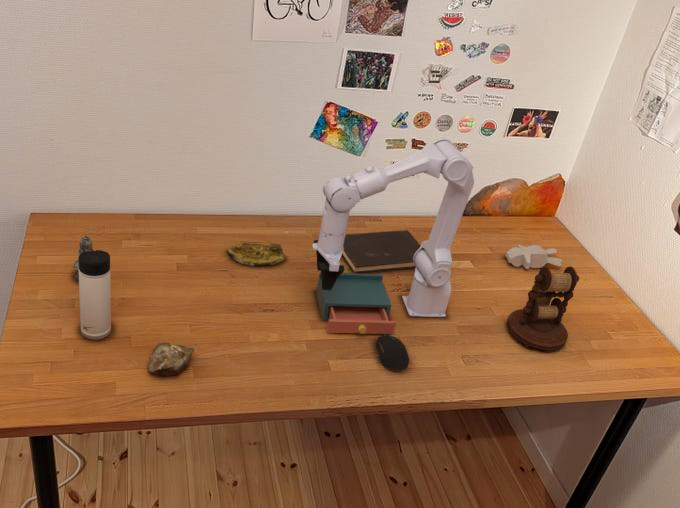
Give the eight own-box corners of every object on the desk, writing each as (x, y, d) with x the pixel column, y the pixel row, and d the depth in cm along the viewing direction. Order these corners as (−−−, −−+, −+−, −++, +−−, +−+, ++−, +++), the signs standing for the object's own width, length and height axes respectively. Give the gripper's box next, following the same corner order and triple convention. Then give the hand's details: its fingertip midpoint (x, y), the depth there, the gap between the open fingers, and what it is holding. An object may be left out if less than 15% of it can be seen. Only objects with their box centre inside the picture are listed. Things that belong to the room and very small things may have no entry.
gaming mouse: (395, 331, 177) (398, 317, 175) (411, 373, 165) (414, 359, 163) (369, 330, 176) (372, 317, 174) (383, 373, 164) (387, 359, 162)
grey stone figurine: (68, 279, 175) (66, 236, 168) (84, 267, 180) (82, 225, 173) (89, 287, 174) (88, 244, 167) (104, 275, 178) (104, 233, 172)
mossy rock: (226, 267, 190) (284, 270, 193) (227, 253, 187) (286, 257, 190) (226, 244, 197) (282, 248, 200) (227, 230, 194) (284, 234, 197)
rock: (160, 380, 148) (202, 370, 155) (156, 347, 148) (199, 338, 155) (141, 376, 154) (183, 366, 161) (138, 344, 153) (180, 336, 160)
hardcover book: (430, 266, 203) (432, 259, 202) (353, 273, 195) (355, 266, 194) (405, 235, 215) (406, 228, 214) (331, 241, 207) (333, 233, 206)
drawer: (382, 306, 184) (385, 295, 182) (394, 337, 174) (397, 326, 172) (320, 304, 180) (322, 293, 178) (327, 336, 171) (330, 324, 169)
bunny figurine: (504, 240, 213) (555, 240, 214) (501, 255, 216) (551, 255, 217) (513, 259, 205) (566, 258, 206) (510, 274, 208) (562, 273, 209)
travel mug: (85, 343, 157) (82, 265, 146) (77, 325, 162) (74, 248, 151) (114, 338, 160) (114, 261, 149) (106, 319, 165) (106, 244, 154)
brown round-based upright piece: (547, 316, 192) (573, 251, 181) (575, 354, 180) (604, 287, 169) (495, 317, 188) (519, 250, 177) (520, 355, 176) (547, 287, 165)
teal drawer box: (377, 294, 189) (382, 274, 185) (387, 321, 180) (392, 301, 176) (315, 292, 185) (319, 271, 182) (322, 319, 176) (326, 299, 173)
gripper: (311, 212, 171) (303, 261, 178) (320, 246, 159) (311, 297, 166) (341, 213, 172) (332, 262, 179) (352, 248, 160) (342, 298, 168)
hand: (324, 279), depth 173 cm, fingers open, 7 cm apart
